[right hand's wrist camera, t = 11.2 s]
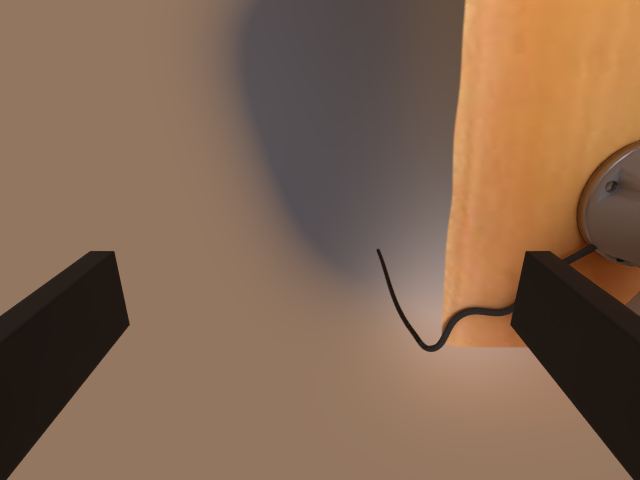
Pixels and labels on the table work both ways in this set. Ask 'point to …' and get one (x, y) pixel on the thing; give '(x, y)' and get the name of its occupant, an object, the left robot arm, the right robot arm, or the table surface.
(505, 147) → the table surface
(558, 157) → the table surface
